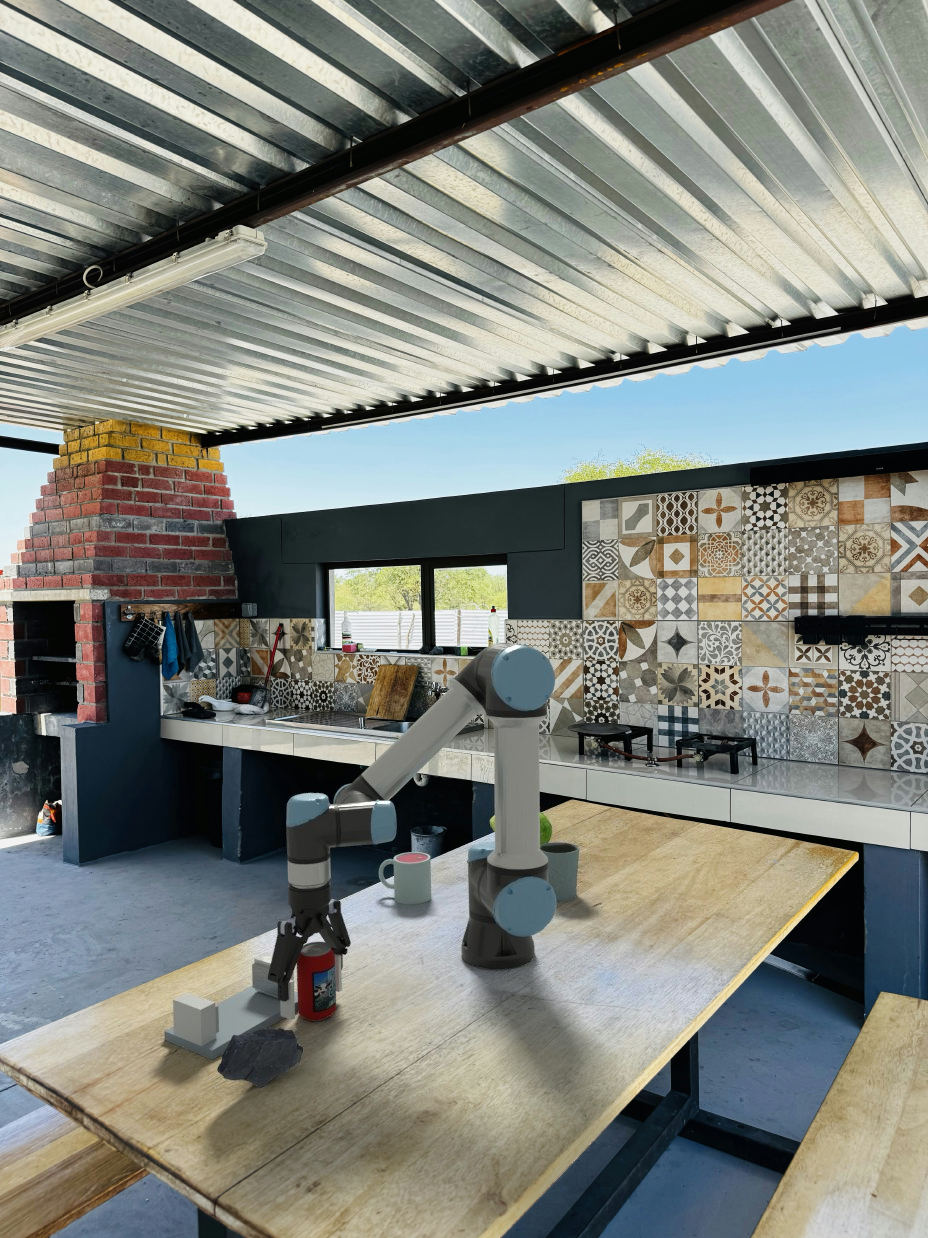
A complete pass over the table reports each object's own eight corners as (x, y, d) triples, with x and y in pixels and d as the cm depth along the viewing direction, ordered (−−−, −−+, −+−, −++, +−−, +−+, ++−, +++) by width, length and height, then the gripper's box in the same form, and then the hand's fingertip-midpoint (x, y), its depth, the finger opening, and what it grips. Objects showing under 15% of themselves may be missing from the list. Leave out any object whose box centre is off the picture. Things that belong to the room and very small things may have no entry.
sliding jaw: (294, 993, 154) (293, 960, 154) (279, 1001, 151) (278, 968, 151) (267, 984, 158) (266, 952, 158) (252, 992, 155) (251, 959, 155)
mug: (436, 893, 211) (435, 853, 211) (423, 906, 202) (422, 864, 202) (387, 888, 216) (386, 849, 216) (371, 900, 207) (370, 860, 207)
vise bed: (308, 1004, 154) (307, 963, 153) (212, 1060, 135) (211, 1013, 135) (262, 988, 160) (261, 949, 160) (164, 1040, 142) (163, 996, 142)
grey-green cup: (533, 900, 205) (532, 851, 205) (545, 886, 214) (544, 840, 214) (574, 904, 201) (573, 855, 201) (584, 891, 210) (583, 843, 210)
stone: (280, 1060, 135) (278, 998, 135) (309, 1069, 132) (308, 1006, 132) (215, 1106, 123) (213, 1038, 122) (246, 1117, 120) (244, 1048, 119)
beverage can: (327, 1025, 145) (325, 957, 145) (291, 1022, 147) (289, 954, 147) (342, 1006, 152) (340, 941, 152) (307, 1003, 154) (305, 939, 153)
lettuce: (501, 842, 256) (513, 798, 257) (556, 864, 243) (567, 818, 244) (473, 841, 244) (484, 795, 246) (528, 864, 232) (540, 816, 233)
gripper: (338, 861, 162) (340, 973, 162) (243, 898, 142) (247, 1026, 142) (368, 867, 158) (370, 982, 158) (275, 906, 138) (278, 1038, 138)
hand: (312, 1003), depth 150 cm, fingers open, 11 cm apart
